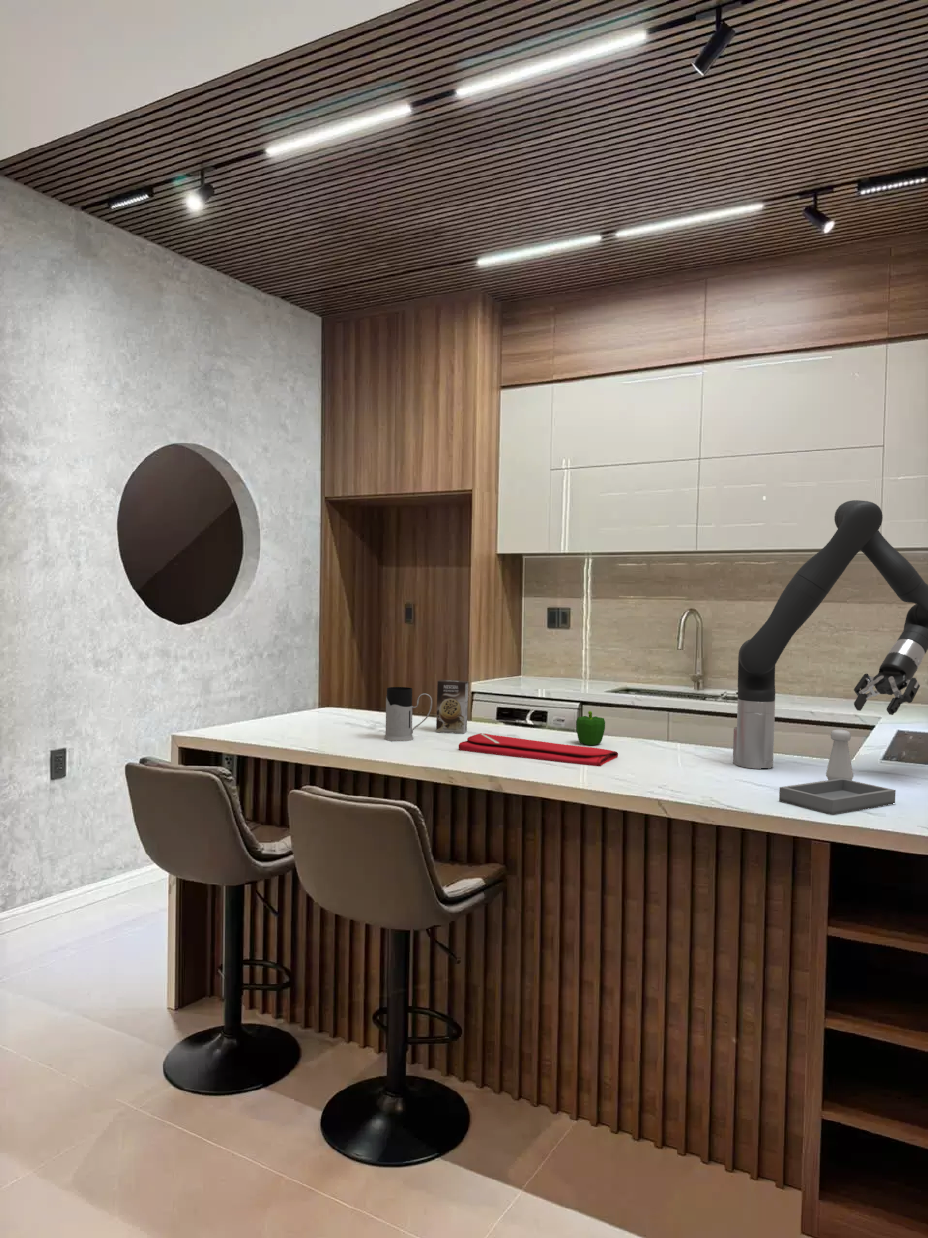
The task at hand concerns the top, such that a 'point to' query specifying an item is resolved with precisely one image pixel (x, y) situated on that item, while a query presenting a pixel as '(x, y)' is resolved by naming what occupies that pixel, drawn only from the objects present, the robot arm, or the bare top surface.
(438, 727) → the coffee box
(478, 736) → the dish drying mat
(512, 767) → the top surface
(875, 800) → the charcoal tray
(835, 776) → the salt shaker
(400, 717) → the glass holder
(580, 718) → the bell pepper
